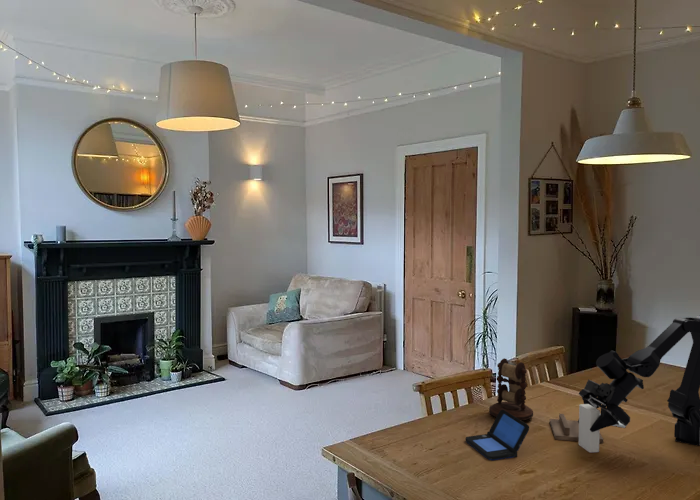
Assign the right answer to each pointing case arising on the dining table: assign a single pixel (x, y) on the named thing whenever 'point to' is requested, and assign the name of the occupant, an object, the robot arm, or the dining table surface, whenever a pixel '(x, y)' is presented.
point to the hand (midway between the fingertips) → (584, 426)
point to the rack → (567, 429)
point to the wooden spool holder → (511, 391)
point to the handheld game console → (501, 437)
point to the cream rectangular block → (588, 428)
